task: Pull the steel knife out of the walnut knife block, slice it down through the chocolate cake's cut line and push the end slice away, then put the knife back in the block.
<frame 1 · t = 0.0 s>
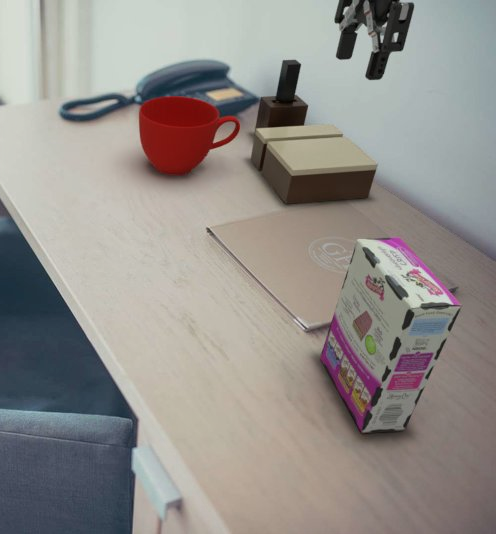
hand: (357, 68, 91), 21 cm above the table, tool pointing down, fingers open, 8 cm apart
ceramic cup: (184, 167, 110), on the table
knife block: (276, 139, 119), on the table
knife: (283, 102, 115), in the knife block
candy bar box: (359, 393, 69), on the table
cake slice: (295, 146, 110), point 3 cm above the table, slide at 0.0 cm
cake: (298, 169, 110), on the table
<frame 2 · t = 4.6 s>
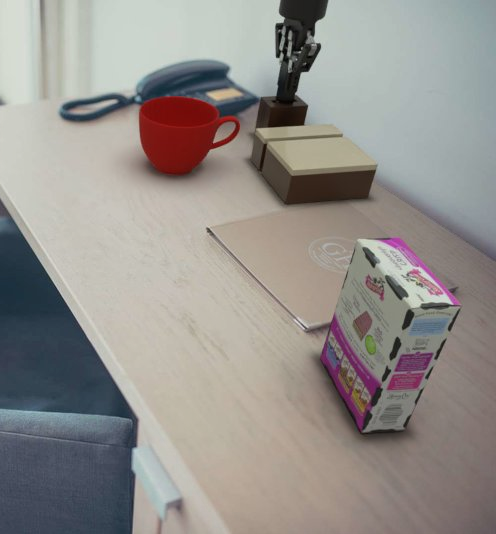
hand: (286, 89, 114), 10 cm above the table, tool pointing down, fingers closed on knife, 2 cm apart
knife: (284, 102, 115), in the knife block, touching gripper
everything else where it was.
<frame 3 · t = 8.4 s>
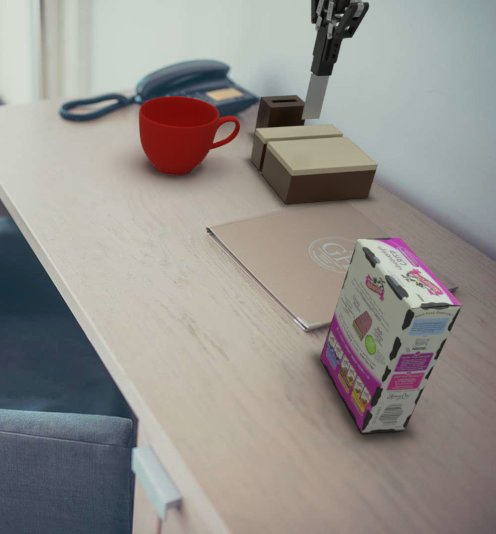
hand: (323, 59, 99), 19 cm above the table, tool pointing down, fingers closed on knife, 2 cm apart
knife: (320, 74, 100), point 17 cm above the table, touching gripper
everything else where it was.
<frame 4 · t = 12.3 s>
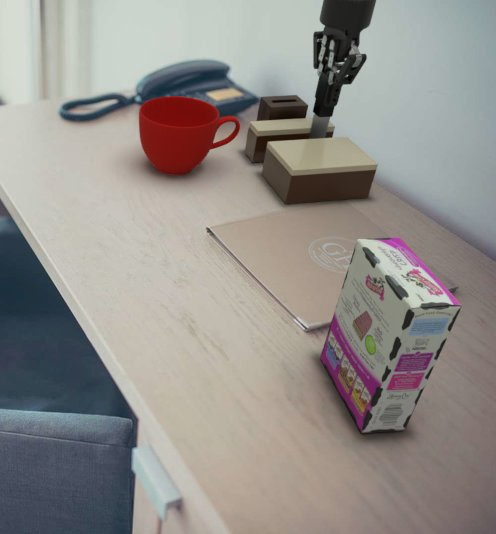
hand: (325, 101, 107), 11 cm above the table, tool pointing down, fingers closed on knife, 2 cm apart
knife: (321, 115, 108), point 8 cm above the table, touching cake slice, gripper
cake slice: (288, 139, 112), point 3 cm above the table, slide at 3.0 cm, touching knife
everything else where it was.
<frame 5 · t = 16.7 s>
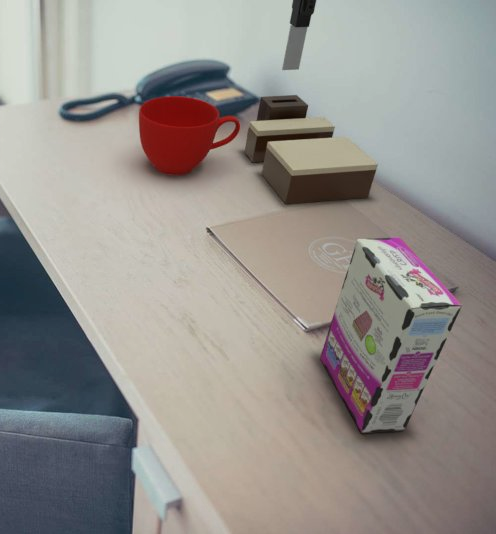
hand: (302, 11, 106), 23 cm above the table, tool pointing down, fingers closed on knife, 2 cm apart
knife: (298, 26, 107), point 20 cm above the table, touching gripper
cake slice: (288, 139, 112), point 3 cm above the table, slide at 3.0 cm
everything else where it was.
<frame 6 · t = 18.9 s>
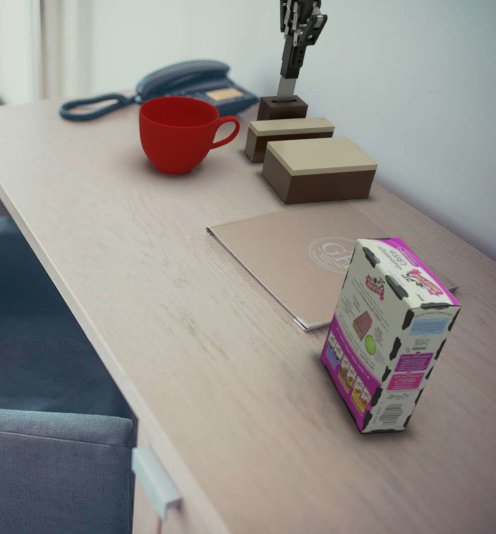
hand: (291, 64, 111), 14 cm above the table, tool pointing down, fingers closed on knife, 2 cm apart
knife: (288, 77, 112), point 12 cm above the table, touching gripper
everything else where it was.
when the fingers open (10 cm above the table, at t = 20.3 s): knife stays where it is, resting on knife block.
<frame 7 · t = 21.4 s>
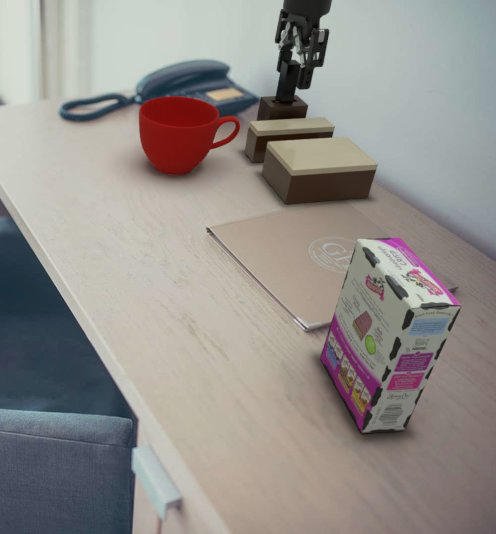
hand: (292, 80, 112), 11 cm above the table, tool pointing down, fingers open, 8 cm apart
knife: (283, 102, 115), in the knife block
everything else where it was.
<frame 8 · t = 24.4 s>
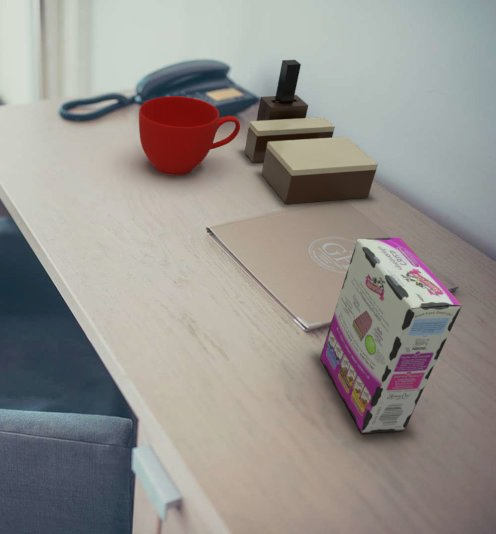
nothing on the table moved.
at the end: cake slice slide at 3.0 cm; knife 0.1 cm off-centre on the knife block, point 7.2 cm above the knife block's base; candy bar box moved 0.2 cm from its start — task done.
